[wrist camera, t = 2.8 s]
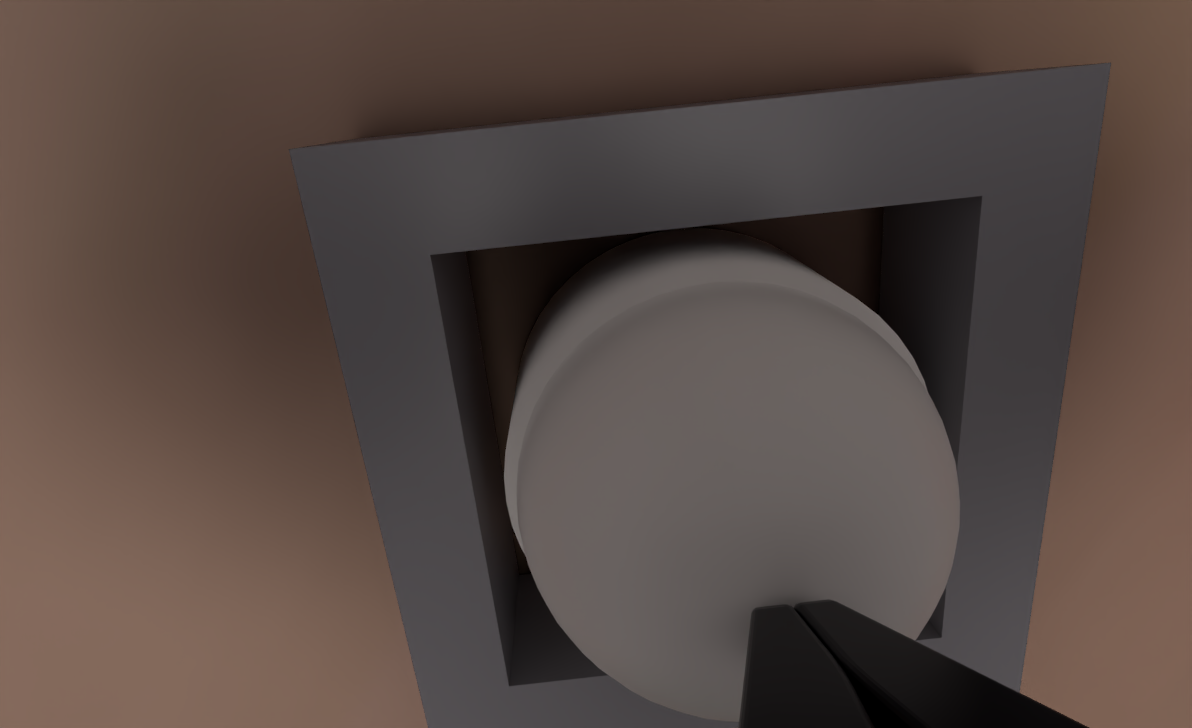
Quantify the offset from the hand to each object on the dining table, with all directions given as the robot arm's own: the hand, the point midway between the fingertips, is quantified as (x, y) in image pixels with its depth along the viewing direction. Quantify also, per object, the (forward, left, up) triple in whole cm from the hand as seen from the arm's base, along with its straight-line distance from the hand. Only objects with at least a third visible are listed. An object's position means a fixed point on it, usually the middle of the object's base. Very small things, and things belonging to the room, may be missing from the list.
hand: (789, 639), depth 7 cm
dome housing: (0, 0, -7) cm, 7 cm away
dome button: (0, 0, -6) cm, 6 cm away
